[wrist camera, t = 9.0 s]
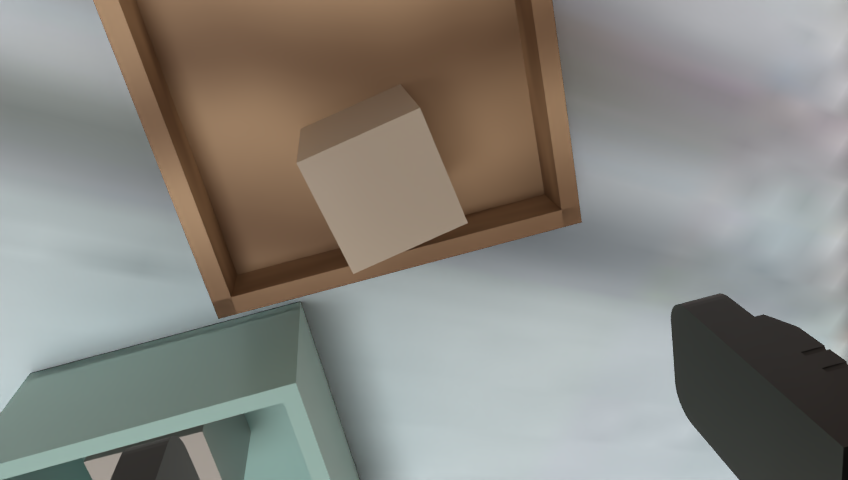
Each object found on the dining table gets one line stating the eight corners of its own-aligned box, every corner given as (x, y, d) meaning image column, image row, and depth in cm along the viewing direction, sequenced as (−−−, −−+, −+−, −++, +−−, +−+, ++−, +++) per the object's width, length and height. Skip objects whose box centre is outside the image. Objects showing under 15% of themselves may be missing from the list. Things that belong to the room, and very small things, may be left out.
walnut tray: (56, -162, 20) (21, -182, 18) (491, -257, 21) (513, -289, 19) (227, 288, 26) (218, 318, 24) (558, 201, 27) (581, 222, 25)
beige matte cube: (300, 128, 24) (296, 162, 19) (400, 84, 24) (420, 107, 19) (346, 221, 25) (353, 274, 21) (440, 179, 25) (467, 222, 21)
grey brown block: (124, 378, 26) (83, 462, 22) (222, 354, 27) (202, 431, 22) (158, 455, 28) (127, 548, 23) (251, 431, 28) (237, 518, 24)
